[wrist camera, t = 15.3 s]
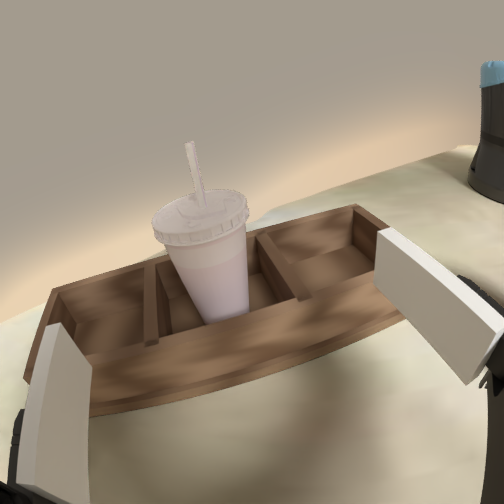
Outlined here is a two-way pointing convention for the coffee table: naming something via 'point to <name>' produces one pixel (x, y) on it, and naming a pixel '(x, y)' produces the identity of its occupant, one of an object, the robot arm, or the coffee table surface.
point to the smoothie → (208, 246)
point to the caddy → (230, 330)
